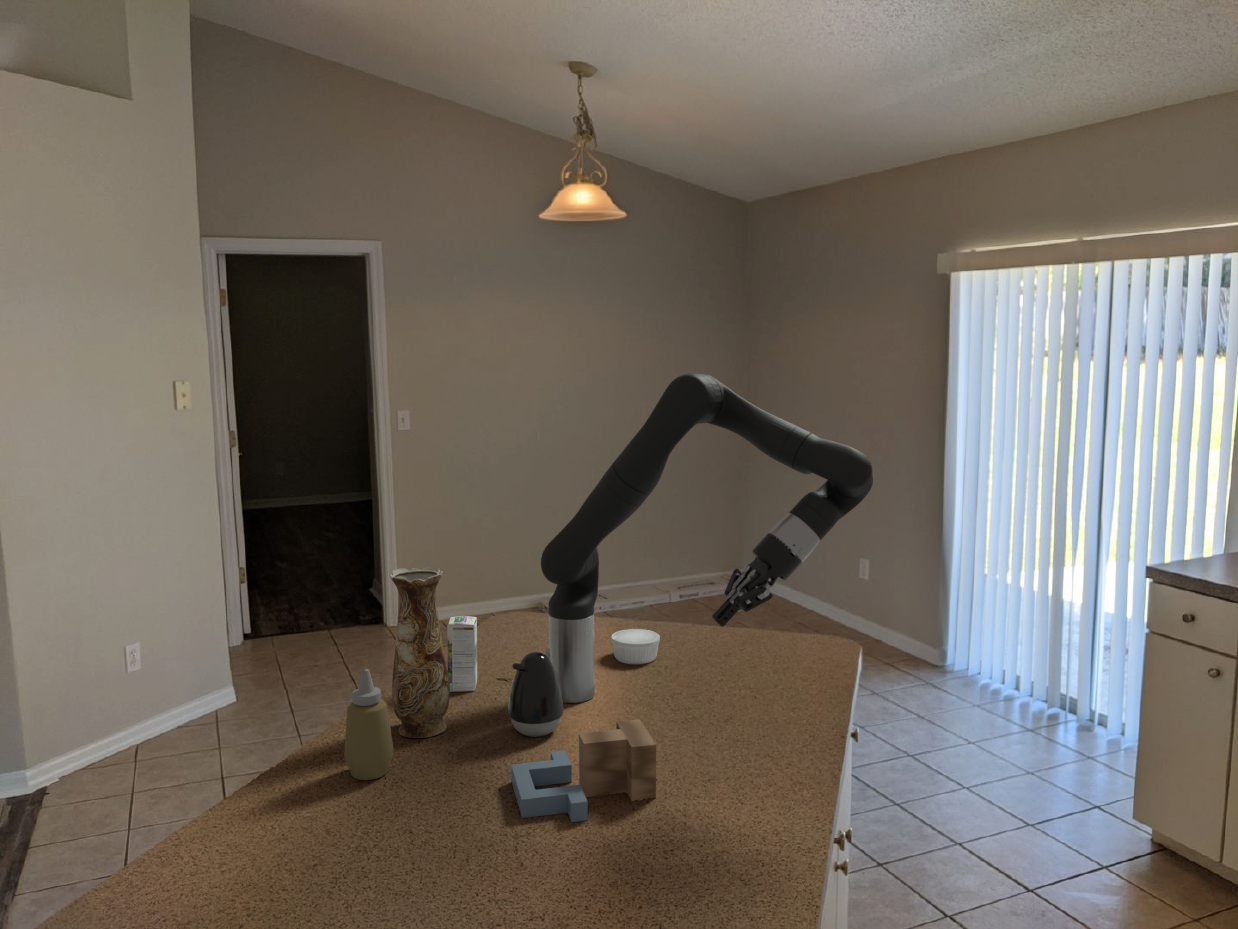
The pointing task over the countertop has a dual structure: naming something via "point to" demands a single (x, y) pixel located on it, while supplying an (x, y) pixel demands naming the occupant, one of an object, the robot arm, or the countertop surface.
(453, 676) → the syrup box
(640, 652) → the ramekin
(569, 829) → the countertop surface
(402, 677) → the vase
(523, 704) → the roly-poly penguin toy
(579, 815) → the t socket
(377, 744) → the squeeze bottle
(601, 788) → the t block
